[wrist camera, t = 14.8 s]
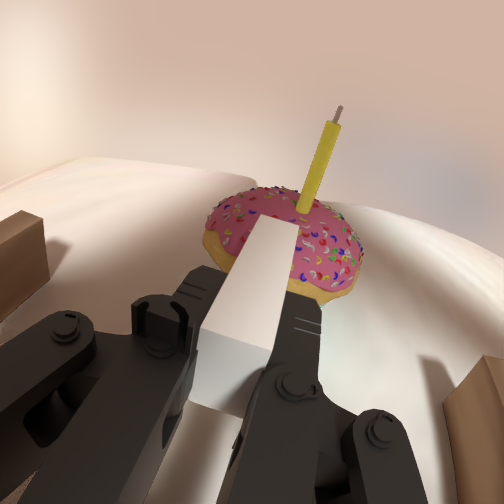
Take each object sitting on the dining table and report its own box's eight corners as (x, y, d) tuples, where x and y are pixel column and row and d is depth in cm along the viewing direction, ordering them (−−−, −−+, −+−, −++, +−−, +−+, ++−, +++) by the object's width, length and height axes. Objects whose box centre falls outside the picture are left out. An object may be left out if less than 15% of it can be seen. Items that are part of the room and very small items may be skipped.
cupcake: (348, 364, 16) (450, 149, 10) (189, 354, 14) (242, 77, 9) (312, 275, 24) (365, 116, 18) (196, 259, 22) (231, 80, 16)
